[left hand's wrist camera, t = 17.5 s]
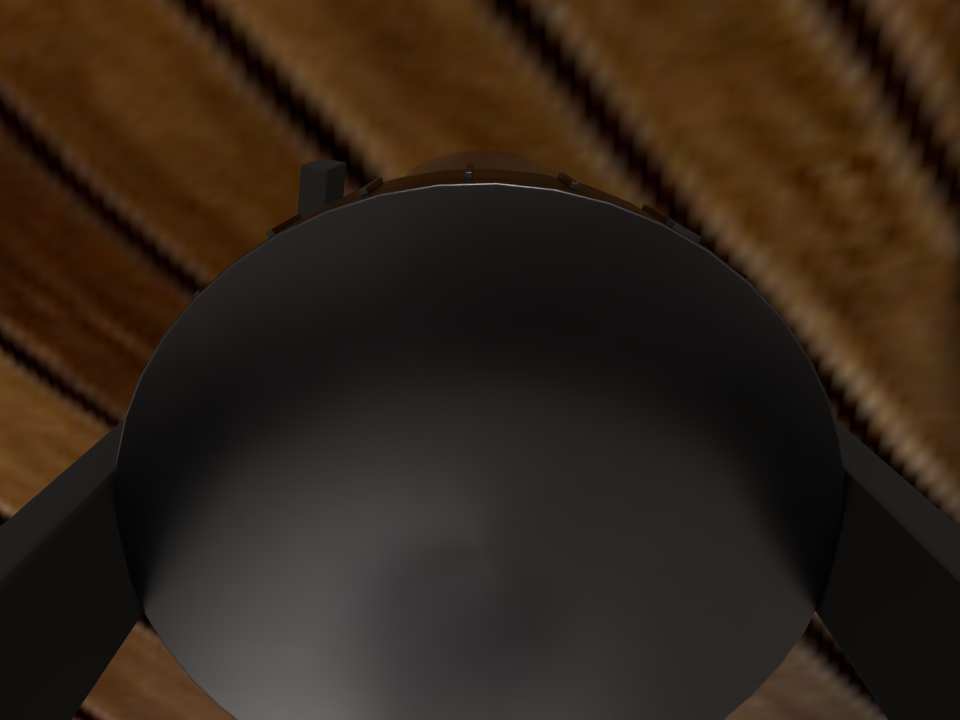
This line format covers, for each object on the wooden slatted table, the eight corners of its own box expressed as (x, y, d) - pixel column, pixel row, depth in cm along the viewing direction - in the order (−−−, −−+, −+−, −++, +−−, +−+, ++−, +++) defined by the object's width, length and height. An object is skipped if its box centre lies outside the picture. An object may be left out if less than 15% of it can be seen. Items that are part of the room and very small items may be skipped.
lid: (208, 699, 14) (164, 793, 12) (122, 149, 10) (36, 158, 8) (728, 714, 14) (767, 809, 13) (856, 177, 10) (944, 193, 8)
